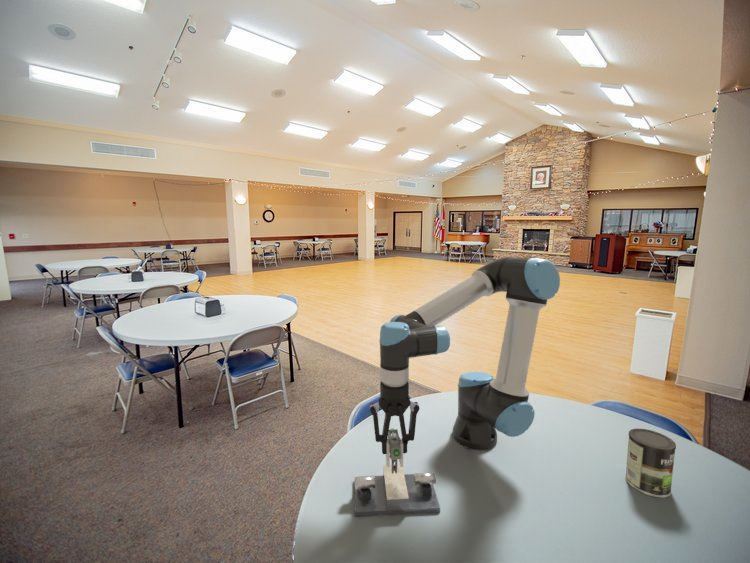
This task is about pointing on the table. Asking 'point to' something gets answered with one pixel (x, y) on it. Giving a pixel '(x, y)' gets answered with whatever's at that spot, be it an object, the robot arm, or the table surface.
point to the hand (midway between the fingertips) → (394, 463)
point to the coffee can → (650, 462)
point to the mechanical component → (394, 448)
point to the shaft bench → (395, 493)
